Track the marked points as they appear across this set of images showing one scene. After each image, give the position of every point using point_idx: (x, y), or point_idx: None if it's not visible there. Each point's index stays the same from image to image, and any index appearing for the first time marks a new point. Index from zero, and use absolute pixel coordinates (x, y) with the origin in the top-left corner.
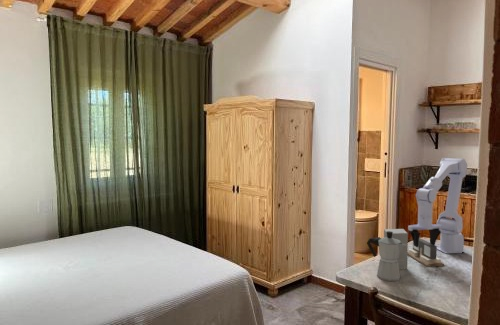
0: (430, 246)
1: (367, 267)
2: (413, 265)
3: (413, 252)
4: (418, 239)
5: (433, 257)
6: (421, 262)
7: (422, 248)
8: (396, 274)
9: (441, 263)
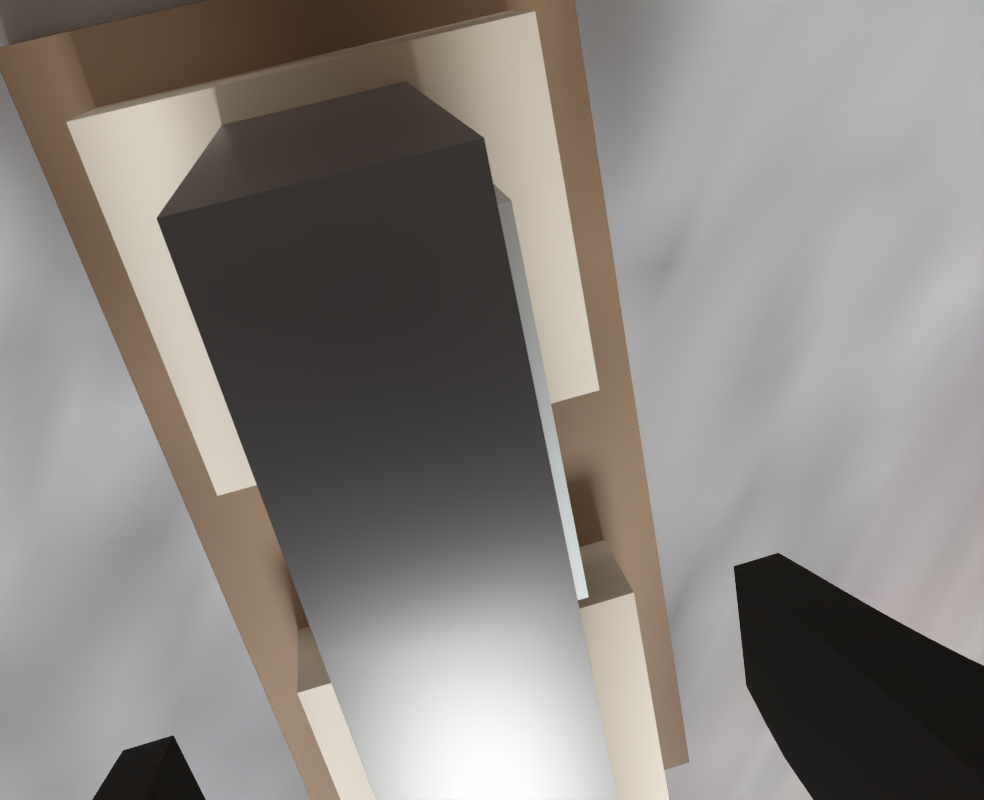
0: (497, 219)
1: None
2: (835, 5)
3: (637, 634)
4: (947, 724)
5: (320, 110)
6: (596, 172)
7: None
8: None
9: (75, 80)
